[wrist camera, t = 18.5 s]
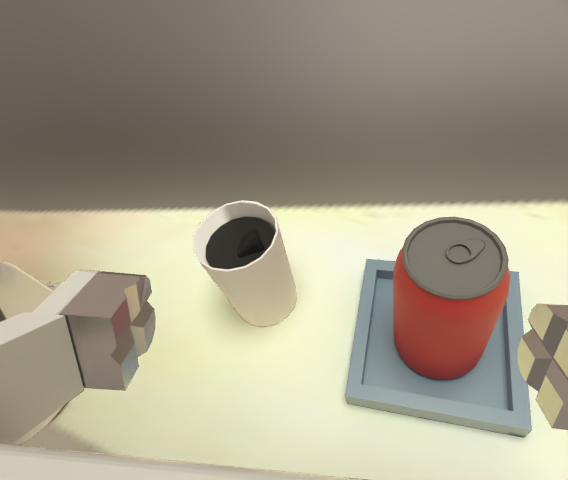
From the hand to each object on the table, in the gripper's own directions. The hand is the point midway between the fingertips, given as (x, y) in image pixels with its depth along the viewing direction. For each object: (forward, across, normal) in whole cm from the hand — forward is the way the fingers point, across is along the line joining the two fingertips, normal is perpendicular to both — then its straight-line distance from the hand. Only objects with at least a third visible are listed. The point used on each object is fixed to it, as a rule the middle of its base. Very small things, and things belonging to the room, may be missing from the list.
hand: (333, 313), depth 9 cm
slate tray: (+20, -10, +17) cm, 27 cm away
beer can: (+19, -10, +16) cm, 27 cm away
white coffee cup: (+25, +4, +18) cm, 31 cm away
